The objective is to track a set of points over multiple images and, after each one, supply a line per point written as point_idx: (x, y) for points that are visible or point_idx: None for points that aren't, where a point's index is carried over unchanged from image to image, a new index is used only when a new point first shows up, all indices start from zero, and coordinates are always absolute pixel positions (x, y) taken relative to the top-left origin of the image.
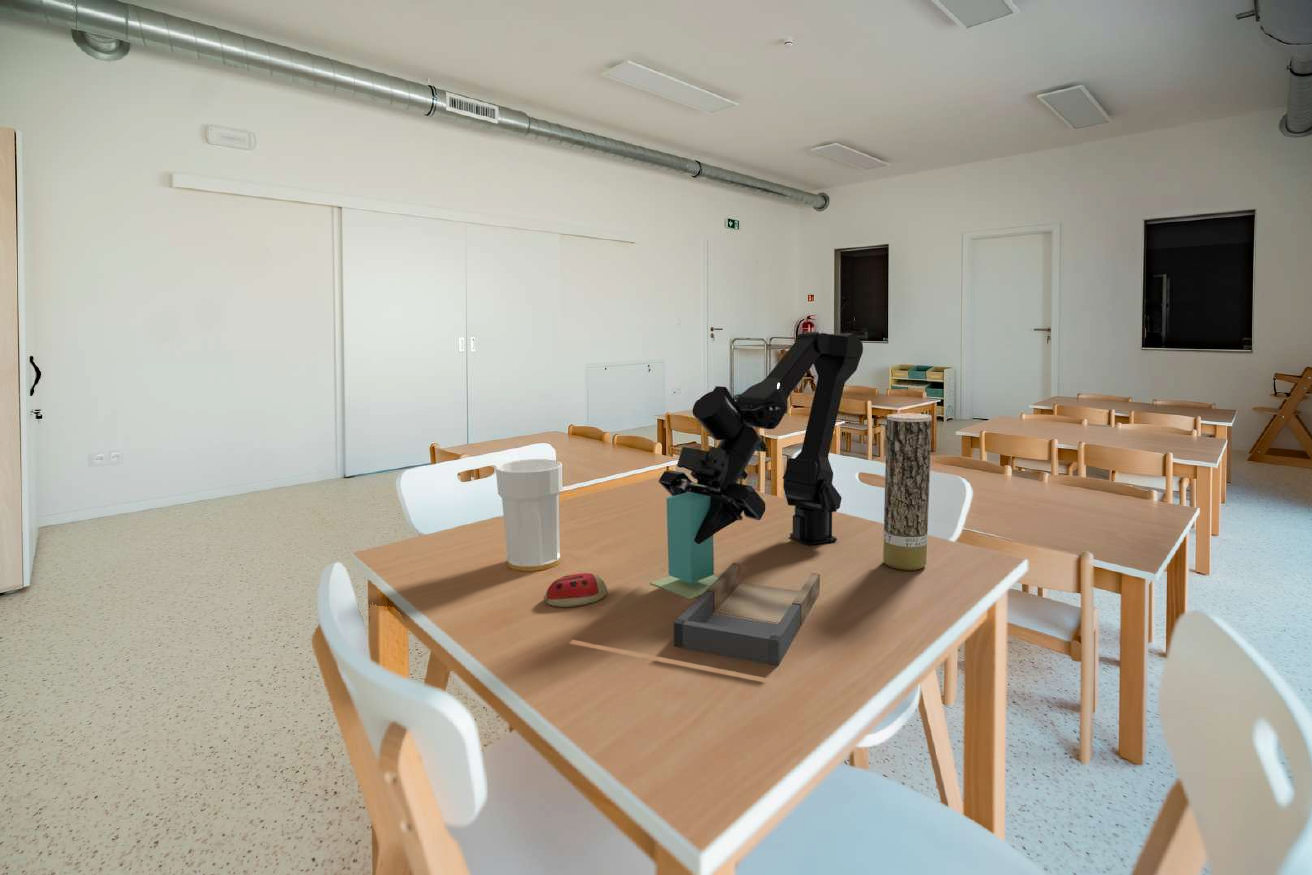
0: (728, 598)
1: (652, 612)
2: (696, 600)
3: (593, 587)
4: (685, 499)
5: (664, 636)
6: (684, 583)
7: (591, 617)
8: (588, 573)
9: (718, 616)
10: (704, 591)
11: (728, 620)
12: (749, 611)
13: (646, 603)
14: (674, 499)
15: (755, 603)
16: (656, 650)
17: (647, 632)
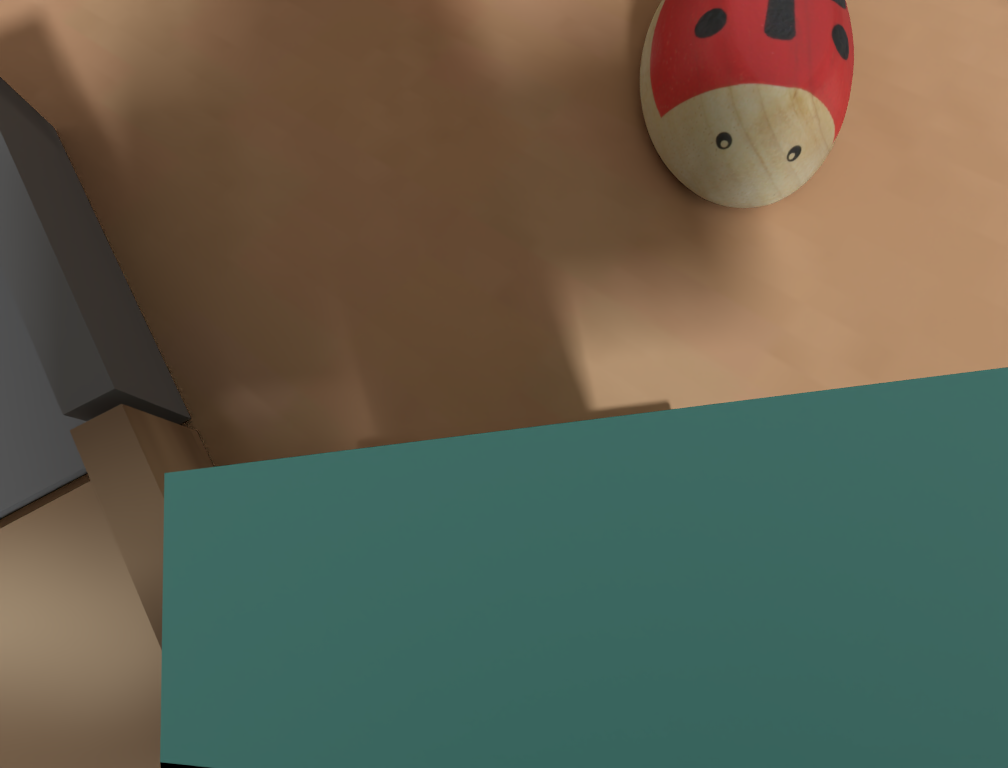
0: None
1: (390, 249)
2: (55, 266)
3: (680, 76)
4: (739, 725)
5: (166, 159)
6: None
7: (515, 46)
8: (804, 75)
9: None
10: None
11: (28, 443)
12: (11, 609)
13: (493, 283)
14: (988, 397)
15: (55, 721)
16: (100, 77)
17: (244, 131)
